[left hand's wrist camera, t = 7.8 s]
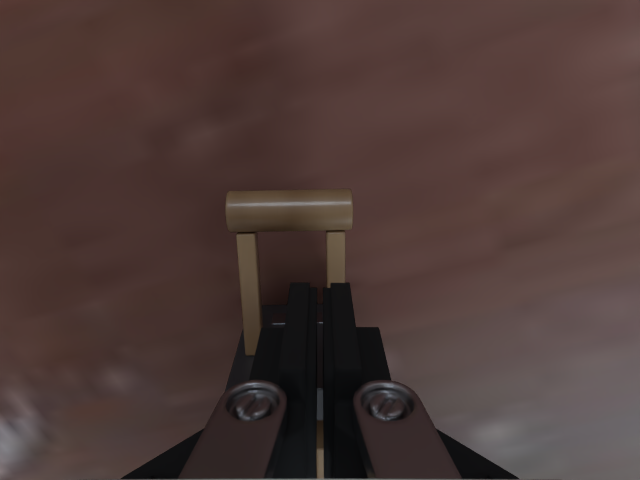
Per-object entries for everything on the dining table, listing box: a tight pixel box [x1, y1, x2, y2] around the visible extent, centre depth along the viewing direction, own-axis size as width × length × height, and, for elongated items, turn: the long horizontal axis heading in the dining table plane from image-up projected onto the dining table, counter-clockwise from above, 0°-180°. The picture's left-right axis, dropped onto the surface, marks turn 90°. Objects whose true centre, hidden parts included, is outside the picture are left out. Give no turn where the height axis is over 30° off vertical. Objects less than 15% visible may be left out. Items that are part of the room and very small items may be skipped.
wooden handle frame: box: [225, 189, 353, 479], centre depth 17 cm, size 20×4×6 cm, turn 1°
